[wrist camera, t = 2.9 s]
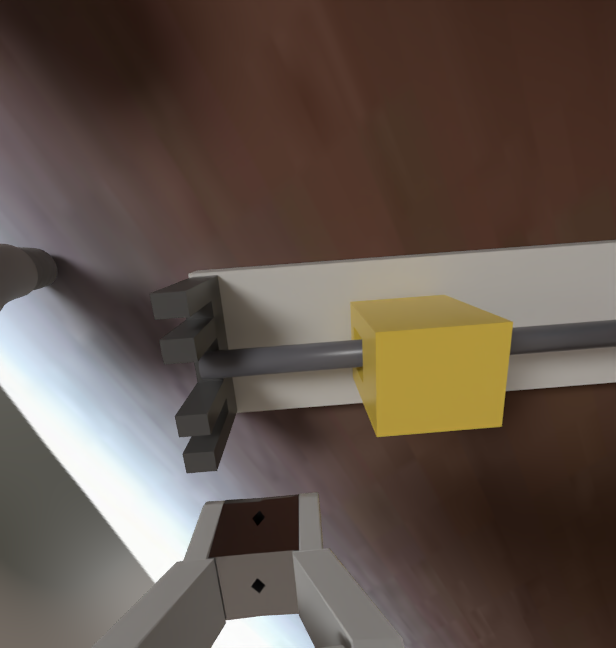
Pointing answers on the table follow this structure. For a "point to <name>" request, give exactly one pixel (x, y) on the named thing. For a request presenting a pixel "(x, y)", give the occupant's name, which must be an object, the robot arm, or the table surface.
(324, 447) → the table surface
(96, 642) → the robot arm
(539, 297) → the board
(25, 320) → the table surface
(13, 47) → the table surface
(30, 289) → the lightbulb
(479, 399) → the sleeve
